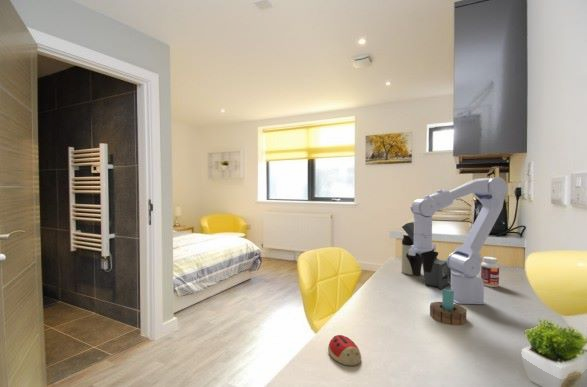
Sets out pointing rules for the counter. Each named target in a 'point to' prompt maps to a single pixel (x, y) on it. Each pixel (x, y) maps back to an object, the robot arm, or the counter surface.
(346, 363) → the ladybug figurine
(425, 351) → the counter surface
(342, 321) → the counter surface
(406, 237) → the travel mug
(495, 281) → the pill bottle
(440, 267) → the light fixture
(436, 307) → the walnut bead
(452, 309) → the capsule peg
